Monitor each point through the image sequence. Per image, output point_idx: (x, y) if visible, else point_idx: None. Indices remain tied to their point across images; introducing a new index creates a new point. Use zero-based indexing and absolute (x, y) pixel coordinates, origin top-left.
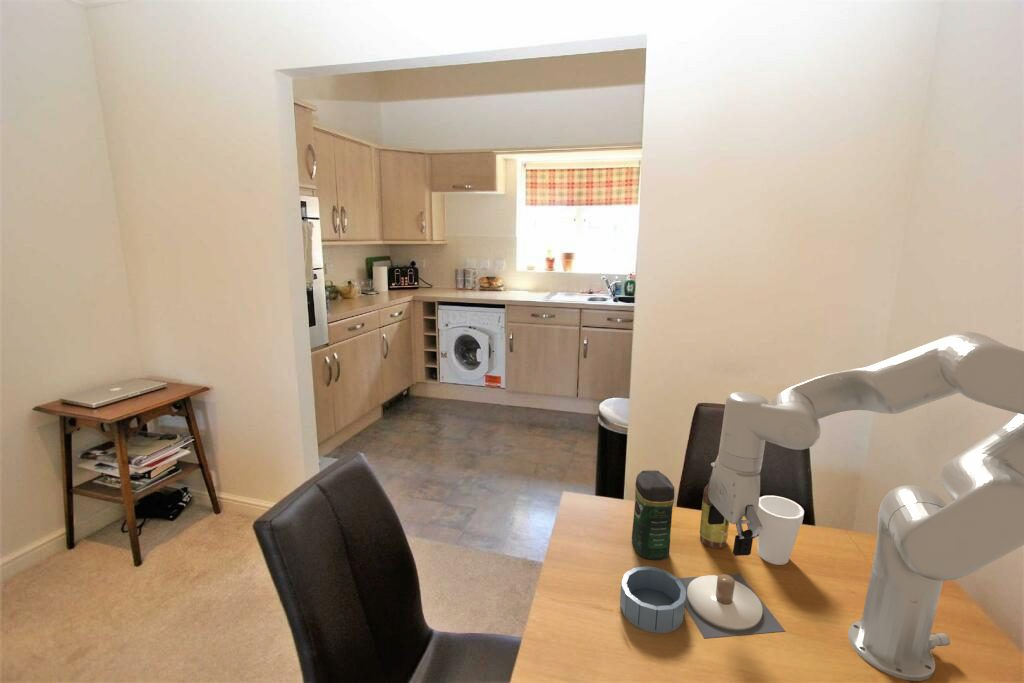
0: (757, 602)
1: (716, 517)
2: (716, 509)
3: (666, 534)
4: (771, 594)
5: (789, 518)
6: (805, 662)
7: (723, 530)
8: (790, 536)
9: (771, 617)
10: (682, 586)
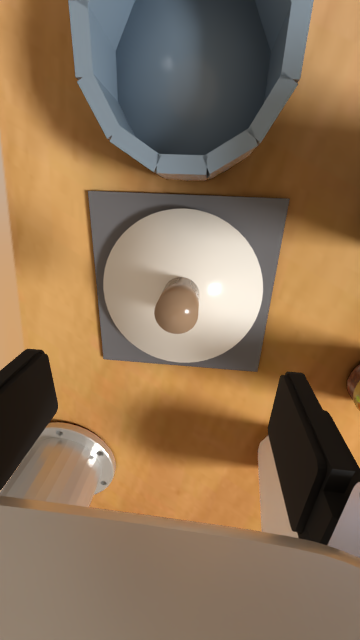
0: (162, 353)
1: (286, 431)
2: (305, 479)
3: None
4: (194, 391)
5: None
6: (45, 347)
7: None
8: (262, 524)
9: (134, 356)
10: (173, 168)
